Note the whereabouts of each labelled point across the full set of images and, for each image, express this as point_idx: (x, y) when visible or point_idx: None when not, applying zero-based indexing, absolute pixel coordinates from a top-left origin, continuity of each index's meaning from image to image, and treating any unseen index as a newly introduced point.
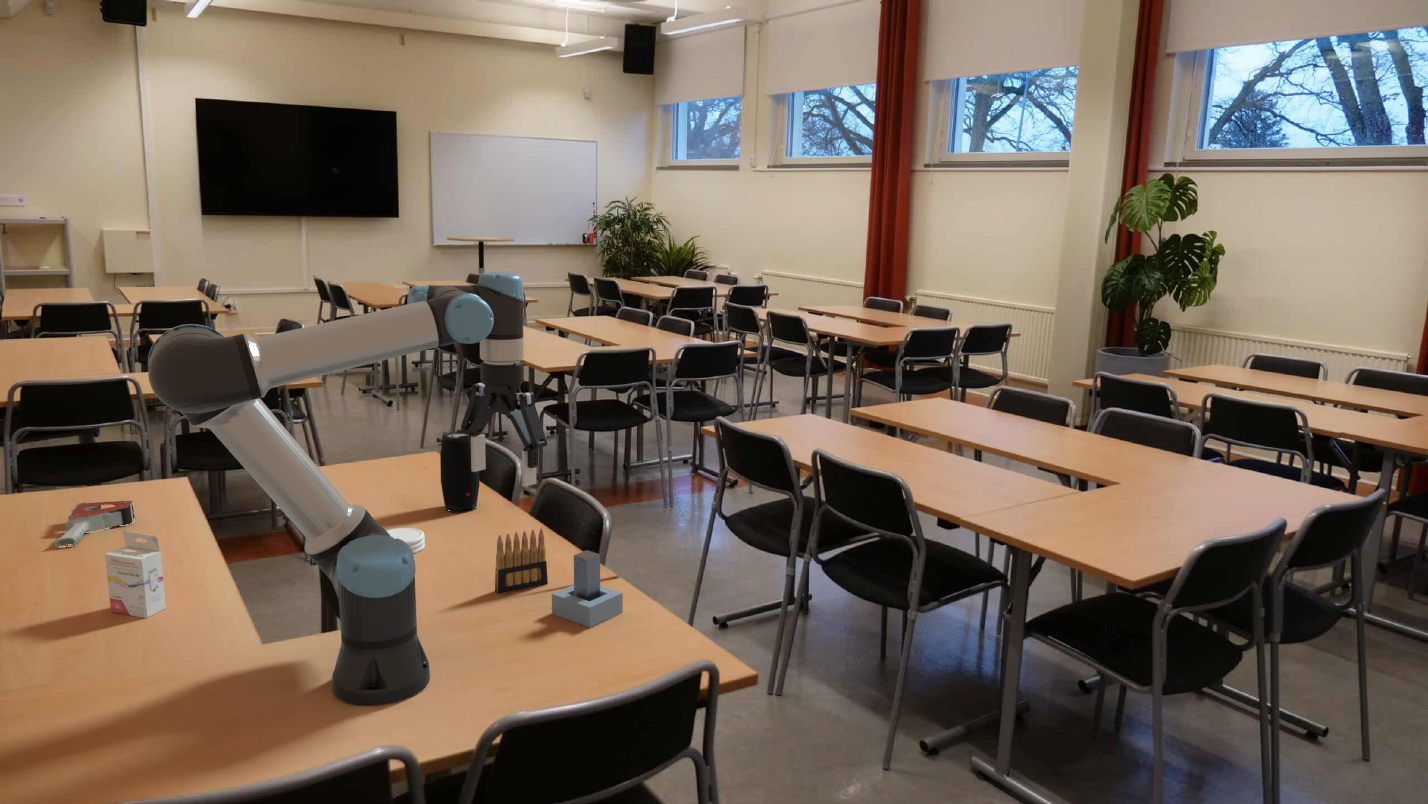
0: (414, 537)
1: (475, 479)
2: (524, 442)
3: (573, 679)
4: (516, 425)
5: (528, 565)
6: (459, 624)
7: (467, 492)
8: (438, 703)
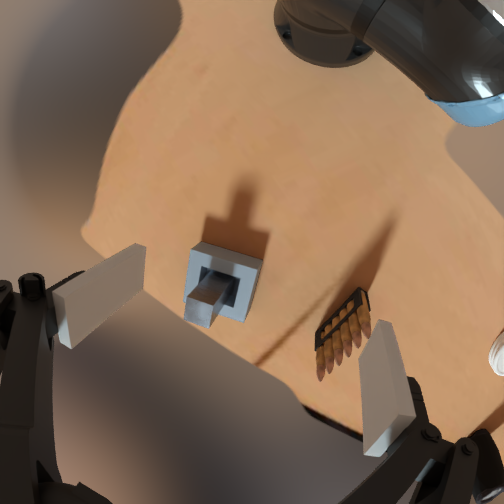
0: (501, 357)
1: None
2: (32, 311)
3: (151, 125)
4: (16, 379)
5: (331, 332)
6: (353, 183)
7: None
8: (243, 19)
